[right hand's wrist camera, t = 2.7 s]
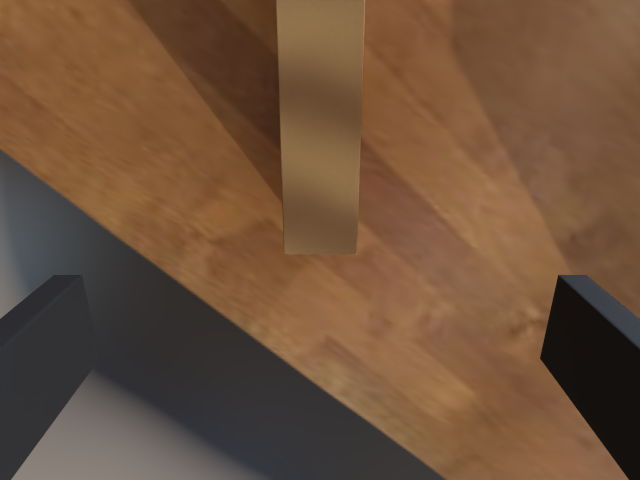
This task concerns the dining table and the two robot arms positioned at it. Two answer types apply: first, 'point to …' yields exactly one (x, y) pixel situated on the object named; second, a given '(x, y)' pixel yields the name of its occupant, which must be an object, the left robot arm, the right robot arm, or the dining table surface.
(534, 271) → the dining table surface
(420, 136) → the dining table surface
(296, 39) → the beam
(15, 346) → the right robot arm
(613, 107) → the dining table surface
